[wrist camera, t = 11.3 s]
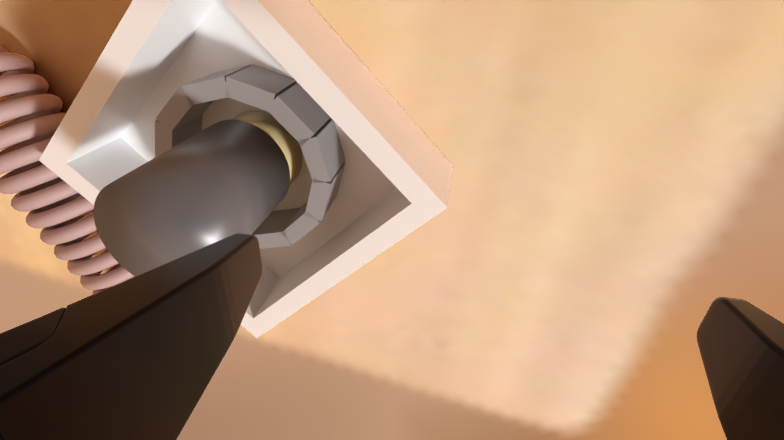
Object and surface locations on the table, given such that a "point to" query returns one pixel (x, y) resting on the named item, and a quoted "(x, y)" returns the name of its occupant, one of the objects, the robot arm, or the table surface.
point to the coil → (47, 175)
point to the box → (287, 105)
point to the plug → (198, 192)
